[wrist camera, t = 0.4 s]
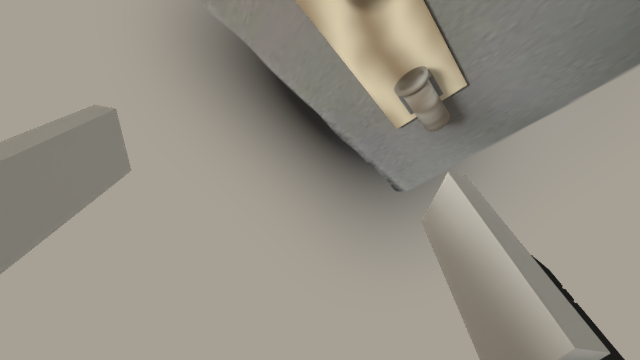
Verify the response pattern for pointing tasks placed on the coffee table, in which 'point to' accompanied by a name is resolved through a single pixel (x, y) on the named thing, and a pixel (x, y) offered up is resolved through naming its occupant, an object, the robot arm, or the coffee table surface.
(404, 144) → the coffee table surface
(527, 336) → the robot arm
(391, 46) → the shaft bench
